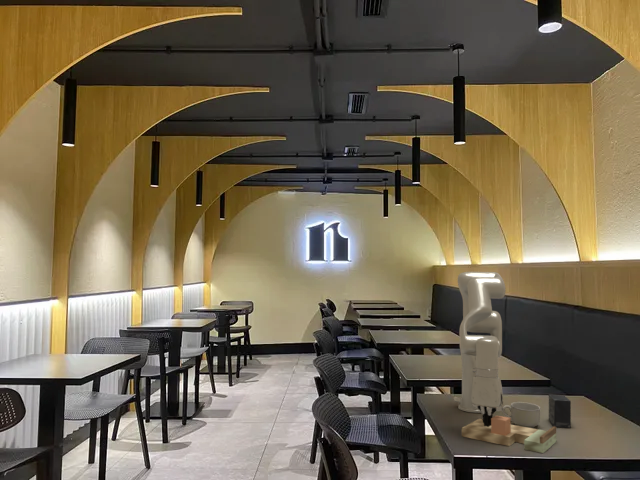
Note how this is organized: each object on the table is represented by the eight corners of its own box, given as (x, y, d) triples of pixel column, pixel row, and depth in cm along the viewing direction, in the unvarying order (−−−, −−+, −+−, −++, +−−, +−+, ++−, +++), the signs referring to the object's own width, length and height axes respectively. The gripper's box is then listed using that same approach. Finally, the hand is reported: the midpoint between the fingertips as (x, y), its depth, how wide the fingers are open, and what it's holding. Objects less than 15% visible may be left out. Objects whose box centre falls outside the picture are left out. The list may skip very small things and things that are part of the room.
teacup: (539, 424, 210) (539, 403, 211) (541, 431, 200) (541, 409, 201) (502, 420, 215) (501, 400, 216) (501, 427, 205) (501, 406, 205)
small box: (572, 428, 204) (571, 400, 205) (553, 427, 206) (553, 399, 206) (565, 421, 215) (564, 394, 215) (547, 420, 216) (547, 393, 217)
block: (491, 432, 188) (491, 418, 188) (496, 429, 191) (496, 415, 192) (505, 435, 184) (505, 420, 185) (510, 432, 188) (510, 417, 189)
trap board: (461, 436, 193) (461, 422, 193) (478, 426, 206) (478, 413, 206) (543, 453, 176) (542, 437, 176) (556, 441, 188) (556, 426, 189)
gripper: (463, 372, 194) (463, 424, 193) (504, 377, 185) (504, 431, 184) (471, 369, 200) (471, 419, 199) (511, 374, 191) (512, 427, 190)
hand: (487, 425), depth 191 cm, fingers closed
